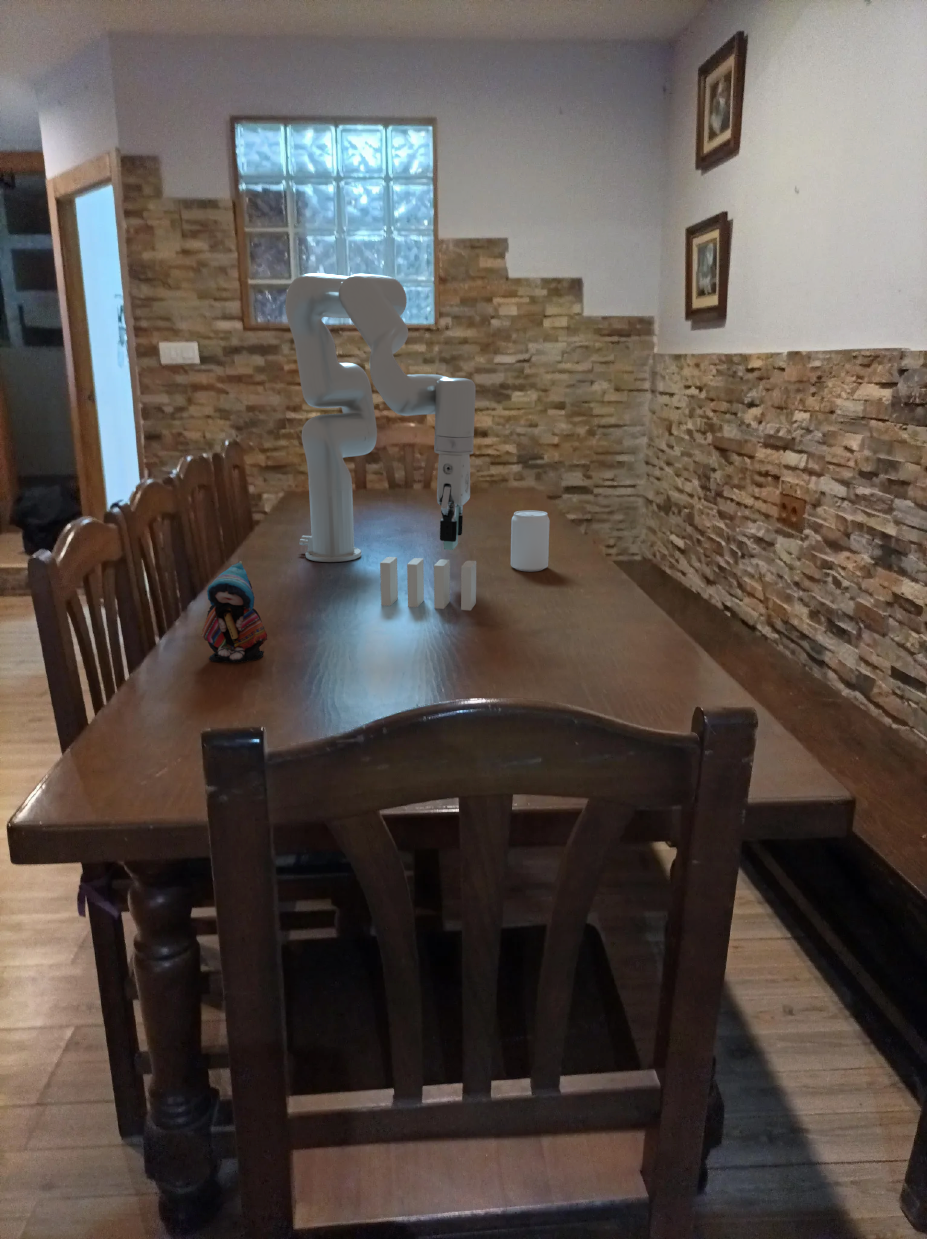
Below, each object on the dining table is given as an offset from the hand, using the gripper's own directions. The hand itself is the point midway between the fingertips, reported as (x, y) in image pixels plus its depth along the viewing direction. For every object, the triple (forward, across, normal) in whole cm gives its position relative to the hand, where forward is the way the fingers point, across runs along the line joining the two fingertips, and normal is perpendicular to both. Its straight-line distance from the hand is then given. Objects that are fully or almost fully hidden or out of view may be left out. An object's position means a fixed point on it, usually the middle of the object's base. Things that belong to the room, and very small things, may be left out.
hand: (451, 536), depth 171 cm
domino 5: (+9, -16, -7) cm, 19 cm away
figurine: (+10, -52, +22) cm, 57 cm away
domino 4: (+2, 0, 0) cm, 2 cm away
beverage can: (+10, +16, -14) cm, 24 cm away
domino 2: (+9, -16, +3) cm, 18 cm away
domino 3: (+9, -16, -2) cm, 18 cm away
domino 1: (+10, -16, +8) cm, 20 cm away
